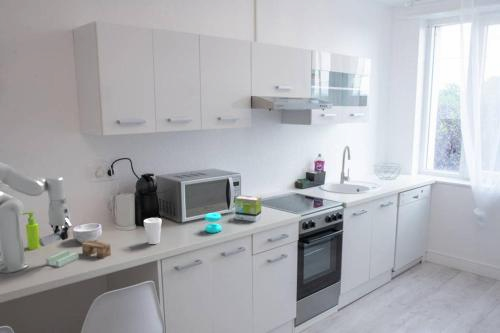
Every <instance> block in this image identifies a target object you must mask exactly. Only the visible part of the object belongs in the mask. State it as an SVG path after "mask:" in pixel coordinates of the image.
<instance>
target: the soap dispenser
mask: <svg viewBox="0 0 500 333" xmlns="http://www.w3.org/2000/svg"><path fill="white" fill-rule="evenodd" d="M34 213H35V211H26V212H23V213H22V214H21V216H22V215H23V216H24V215H28V216H29V217H28V218H27V222H28V223H27V224H26V225H25V230H26V238H27V239H26V240H27V247H28V250H31V251H32V250H38V249H40V248H41V247H42V246H41V245H40V243H39V239H40V238H41V236H40V226H39V223H38V222H36V217H34Z"/></svg>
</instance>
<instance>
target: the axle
mask: <svg viewBox="0 0 500 333" xmlns="http://www.w3.org/2000/svg"><path fill="white" fill-rule="evenodd" d="M61 232H62V230H61V229H60V231H58V232H56V233H54V232H53V233H51V234H48V235H45V236H42V237H40V239H39V243H40V245H41V247H45V246H48V245H50V244H52V243H56V242H57V241H60V240H62V237H61ZM67 233H68V237H70V231H69V229H68V231H67Z"/></svg>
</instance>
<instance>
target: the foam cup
mask: <svg viewBox="0 0 500 333" xmlns="http://www.w3.org/2000/svg"><path fill="white" fill-rule="evenodd" d="M162 222H163V221H162V218H159V217H150V218H146V219H144V220H143V226H144V231H145V235H146V241H147V244H148V243H149V244H156V243H159V242H160V241H161V232H162V231H161V230H162ZM160 243H161V242H160ZM160 243H159V244H160ZM149 244H148V245H149ZM156 245H157V244H156Z"/></svg>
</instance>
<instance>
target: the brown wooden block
mask: <svg viewBox="0 0 500 333" xmlns="http://www.w3.org/2000/svg"><path fill="white" fill-rule="evenodd" d="M81 248H82V249H81V250H82V255H83V256H88V257H89V256H92V255H94V254H96V257H97V258H100V259H105V257H106V258H108V257H110V256H111V255H112V251H111V250H112V249H111V243H109V242H103V241H102V242H101V241H97V240H96V241H91V240H89V241H86V242H84V243H81ZM107 256H108V257H107Z"/></svg>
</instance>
